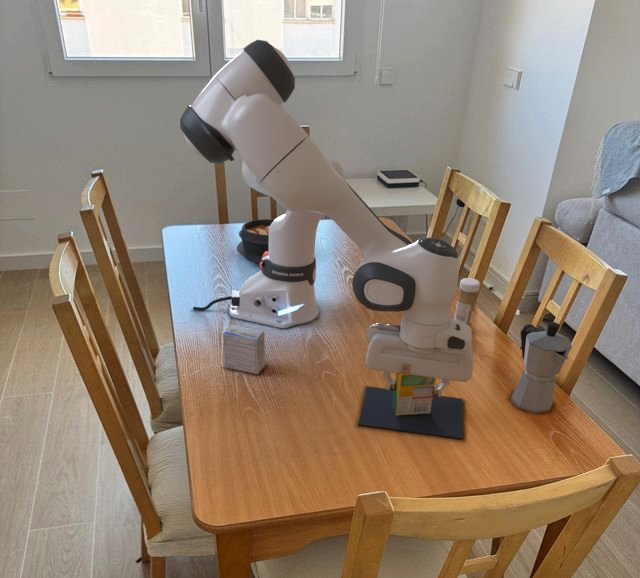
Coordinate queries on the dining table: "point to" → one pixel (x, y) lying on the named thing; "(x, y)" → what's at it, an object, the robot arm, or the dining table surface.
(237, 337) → the medicine box
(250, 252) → the casserole
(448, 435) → the mat
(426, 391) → the crayon box
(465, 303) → the sprinkles bottle
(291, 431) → the dining table surface
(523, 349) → the coffee maker
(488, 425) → the dining table surface
